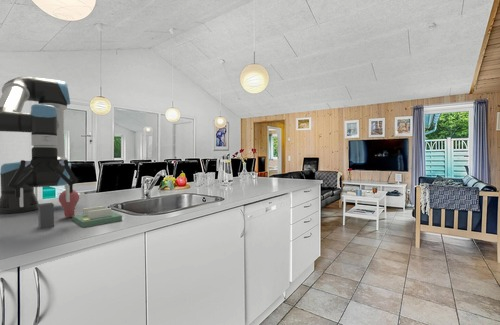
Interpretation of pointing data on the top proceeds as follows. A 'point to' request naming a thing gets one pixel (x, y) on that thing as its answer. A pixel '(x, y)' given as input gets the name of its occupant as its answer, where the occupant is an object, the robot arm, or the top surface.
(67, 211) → the light bulb
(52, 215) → the dark gray block
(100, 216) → the board
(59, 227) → the top surface
